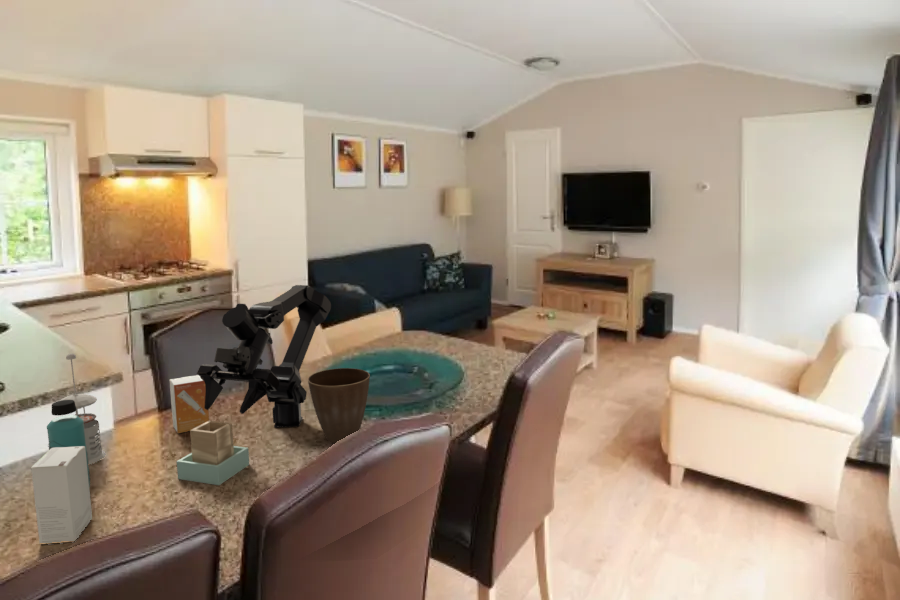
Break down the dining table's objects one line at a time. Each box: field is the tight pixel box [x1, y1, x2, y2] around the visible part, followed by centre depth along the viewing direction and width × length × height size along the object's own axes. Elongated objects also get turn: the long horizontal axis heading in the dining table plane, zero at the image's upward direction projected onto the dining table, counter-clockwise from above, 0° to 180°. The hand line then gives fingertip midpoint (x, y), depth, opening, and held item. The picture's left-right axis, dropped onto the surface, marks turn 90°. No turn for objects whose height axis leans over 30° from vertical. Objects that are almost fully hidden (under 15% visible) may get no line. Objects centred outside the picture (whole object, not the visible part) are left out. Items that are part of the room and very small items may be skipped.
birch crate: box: [189, 420, 235, 465], centre depth 133 cm, size 6×6×10 cm
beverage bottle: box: [46, 399, 92, 488], centre depth 121 cm, size 6×7×20 cm
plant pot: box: [307, 367, 371, 444], centre depth 150 cm, size 15×15×16 cm
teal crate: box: [176, 445, 250, 486], centre depth 133 cm, size 10×10×4 cm
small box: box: [169, 374, 210, 434], centre depth 159 cm, size 8×6×13 cm
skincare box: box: [30, 446, 93, 544], centre depth 108 cm, size 8×6×15 cm
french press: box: [59, 353, 107, 465], centre depth 140 cm, size 10×12×25 cm
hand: (223, 411), depth 136 cm, fingers open, 9 cm apart
